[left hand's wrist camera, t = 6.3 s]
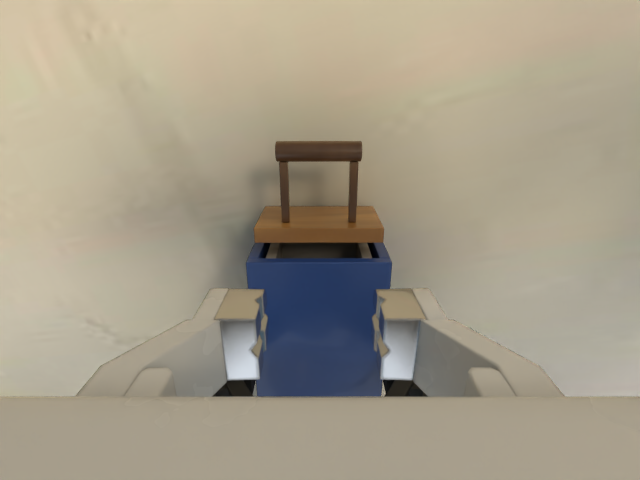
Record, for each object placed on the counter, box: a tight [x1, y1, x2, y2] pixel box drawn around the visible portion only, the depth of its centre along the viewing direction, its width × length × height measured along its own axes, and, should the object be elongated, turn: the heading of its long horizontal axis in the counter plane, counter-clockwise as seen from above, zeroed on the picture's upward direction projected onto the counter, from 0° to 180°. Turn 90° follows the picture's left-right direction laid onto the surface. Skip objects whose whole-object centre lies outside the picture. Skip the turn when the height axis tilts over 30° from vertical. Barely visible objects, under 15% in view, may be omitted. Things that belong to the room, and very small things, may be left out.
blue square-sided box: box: [246, 243, 392, 396], centre depth 32 cm, size 13×11×8 cm
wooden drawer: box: [254, 141, 384, 258], centre depth 30 cm, size 18×10×6 cm, turn 0°
